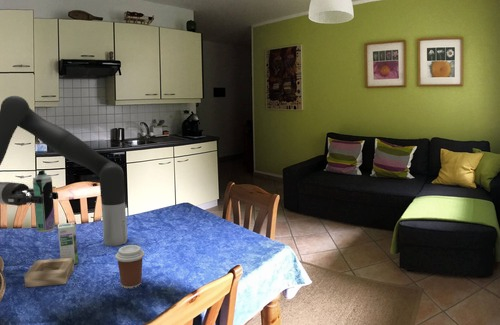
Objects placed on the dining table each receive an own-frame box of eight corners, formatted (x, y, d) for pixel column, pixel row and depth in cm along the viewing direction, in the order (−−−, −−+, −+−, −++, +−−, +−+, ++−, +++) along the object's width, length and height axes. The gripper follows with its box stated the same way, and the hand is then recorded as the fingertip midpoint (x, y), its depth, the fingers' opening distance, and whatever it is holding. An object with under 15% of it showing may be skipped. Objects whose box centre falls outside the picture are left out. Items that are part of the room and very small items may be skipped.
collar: (74, 268, 139) (73, 257, 138) (65, 283, 127) (64, 272, 127) (37, 271, 137) (36, 260, 136) (25, 287, 125) (24, 275, 124)
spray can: (55, 231, 128) (51, 171, 125) (36, 233, 126) (31, 172, 123) (55, 226, 133) (50, 168, 130) (36, 228, 131) (32, 169, 127)
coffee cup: (118, 292, 122) (116, 256, 120) (115, 280, 130) (113, 246, 128) (148, 287, 125) (146, 251, 124) (143, 275, 134) (142, 242, 132)
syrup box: (61, 266, 140) (58, 228, 138) (60, 260, 146) (57, 223, 143) (78, 263, 143) (75, 225, 141) (77, 258, 148) (74, 221, 146)
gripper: (-11, 187, 125) (30, 191, 120) (28, 178, 138) (66, 182, 133) (-9, 209, 126) (32, 215, 121) (29, 199, 140) (67, 203, 134)
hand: (49, 198), depth 127 cm, fingers closed on spray can, 5 cm apart
